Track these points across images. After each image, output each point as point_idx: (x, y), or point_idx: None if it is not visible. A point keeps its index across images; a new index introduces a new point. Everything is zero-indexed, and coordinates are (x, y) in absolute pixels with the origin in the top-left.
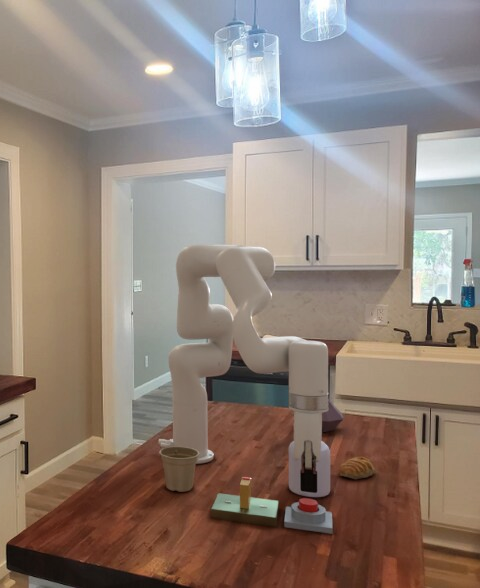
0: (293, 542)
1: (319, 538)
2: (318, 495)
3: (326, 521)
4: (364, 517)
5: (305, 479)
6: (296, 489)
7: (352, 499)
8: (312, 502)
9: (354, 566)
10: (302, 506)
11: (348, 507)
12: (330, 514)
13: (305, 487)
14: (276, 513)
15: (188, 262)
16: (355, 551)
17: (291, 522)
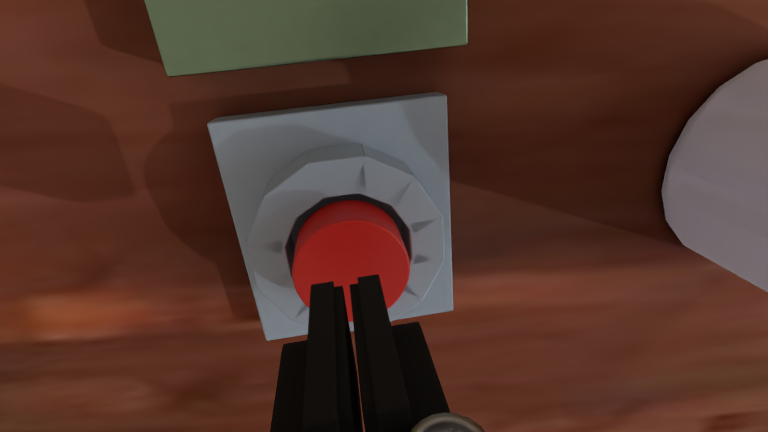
0: (57, 192)
1: (192, 286)
2: (669, 220)
3: None
4: (495, 388)
5: (275, 413)
6: (722, 111)
7: (666, 332)
8: (348, 297)
9: (19, 422)
10: (299, 240)
11: (578, 332)
12: (421, 311)
13: (286, 348)
14: (238, 67)
15: None
16: (158, 407)
17: (218, 164)
